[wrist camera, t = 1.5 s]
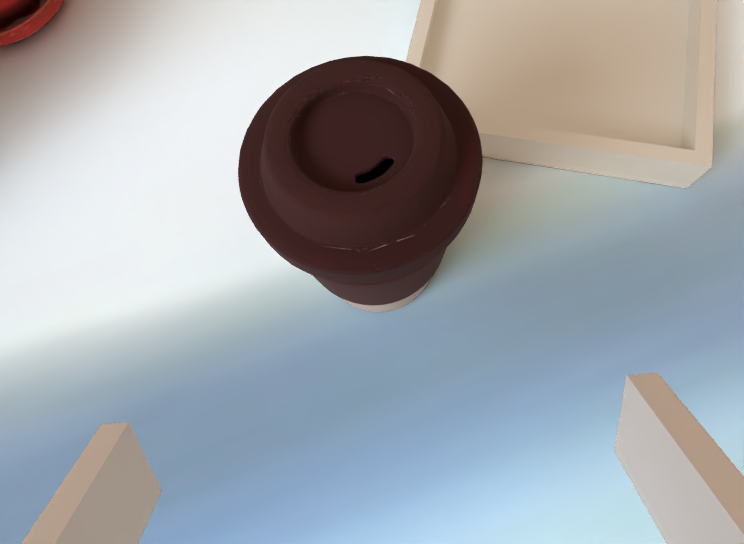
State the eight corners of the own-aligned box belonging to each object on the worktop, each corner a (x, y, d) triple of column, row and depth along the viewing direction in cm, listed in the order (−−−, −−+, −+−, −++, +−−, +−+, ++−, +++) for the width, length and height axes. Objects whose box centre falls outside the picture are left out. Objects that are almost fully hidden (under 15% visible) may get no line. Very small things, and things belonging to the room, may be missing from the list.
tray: (393, 142, 34) (391, 119, 32) (434, -27, 39) (435, -60, 36) (686, 188, 31) (711, 167, 29) (695, 0, 36) (718, -33, 33)
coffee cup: (310, 195, 34) (235, 31, 19) (451, 191, 33) (481, 17, 18) (302, 334, 31) (207, 262, 16) (456, 334, 30) (498, 258, 16)
